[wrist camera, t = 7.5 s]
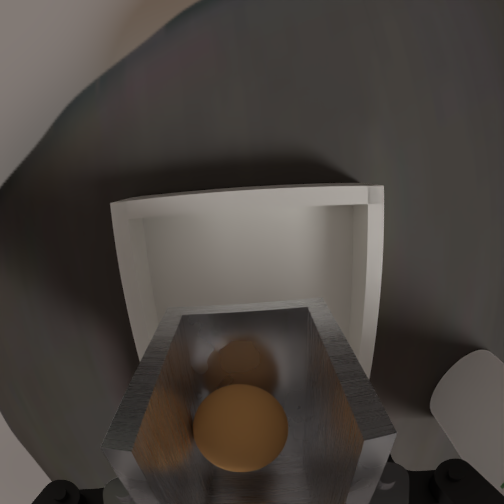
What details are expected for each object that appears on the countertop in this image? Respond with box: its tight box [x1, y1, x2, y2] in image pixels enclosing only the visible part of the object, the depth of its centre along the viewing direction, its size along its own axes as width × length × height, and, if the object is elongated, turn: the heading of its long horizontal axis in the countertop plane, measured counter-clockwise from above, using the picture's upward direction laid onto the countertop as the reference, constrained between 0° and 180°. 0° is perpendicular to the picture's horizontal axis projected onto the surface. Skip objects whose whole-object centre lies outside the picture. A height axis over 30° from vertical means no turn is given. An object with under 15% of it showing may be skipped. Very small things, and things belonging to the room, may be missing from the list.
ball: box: [193, 384, 288, 472], centre depth 9 cm, size 3×3×3 cm
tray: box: [110, 183, 384, 379], centre depth 16 cm, size 15×12×3 cm
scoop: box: [101, 297, 397, 504], centre depth 8 cm, size 8×5×6 cm, turn 4°
